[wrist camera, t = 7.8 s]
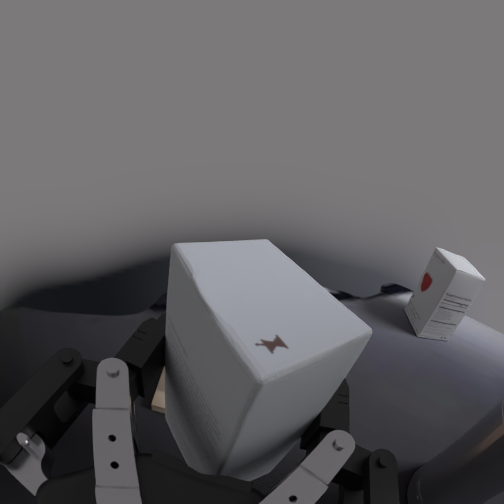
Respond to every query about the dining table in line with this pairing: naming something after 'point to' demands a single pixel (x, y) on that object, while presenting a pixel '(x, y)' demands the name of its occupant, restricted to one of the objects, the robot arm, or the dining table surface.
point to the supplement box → (443, 295)
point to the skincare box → (249, 354)
